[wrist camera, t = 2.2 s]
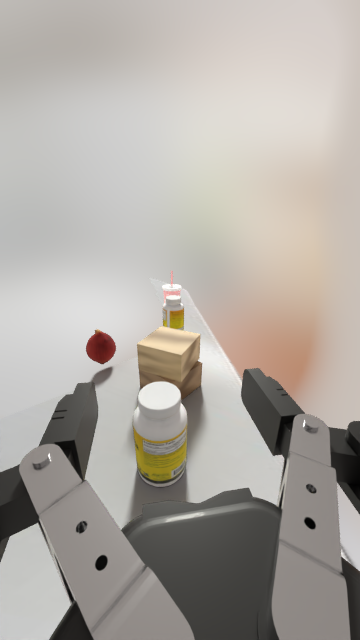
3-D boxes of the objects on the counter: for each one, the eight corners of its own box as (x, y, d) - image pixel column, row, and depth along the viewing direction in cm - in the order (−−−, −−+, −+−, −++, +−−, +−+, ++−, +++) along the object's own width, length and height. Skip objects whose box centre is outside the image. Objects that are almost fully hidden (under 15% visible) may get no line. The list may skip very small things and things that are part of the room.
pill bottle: (144, 441, 34) (139, 374, 29) (188, 446, 33) (190, 379, 29) (130, 486, 28) (122, 412, 24) (183, 493, 27) (184, 418, 23)
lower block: (171, 408, 40) (171, 383, 38) (140, 387, 45) (138, 364, 43) (200, 385, 45) (202, 363, 43) (170, 369, 50) (170, 348, 48)
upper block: (181, 382, 38) (181, 355, 36) (138, 369, 41) (137, 343, 39) (199, 358, 45) (200, 334, 43) (161, 349, 48) (161, 326, 46)
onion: (112, 353, 55) (108, 321, 52) (120, 365, 51) (117, 331, 48) (86, 360, 53) (80, 327, 50) (92, 374, 48) (86, 338, 45)
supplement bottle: (187, 331, 67) (188, 296, 63) (176, 339, 62) (176, 301, 58) (171, 327, 69) (170, 293, 66) (159, 334, 65) (158, 298, 61)
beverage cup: (182, 315, 78) (183, 272, 73) (164, 316, 77) (163, 272, 72) (179, 309, 84) (179, 268, 78) (161, 310, 83) (160, 269, 77)
